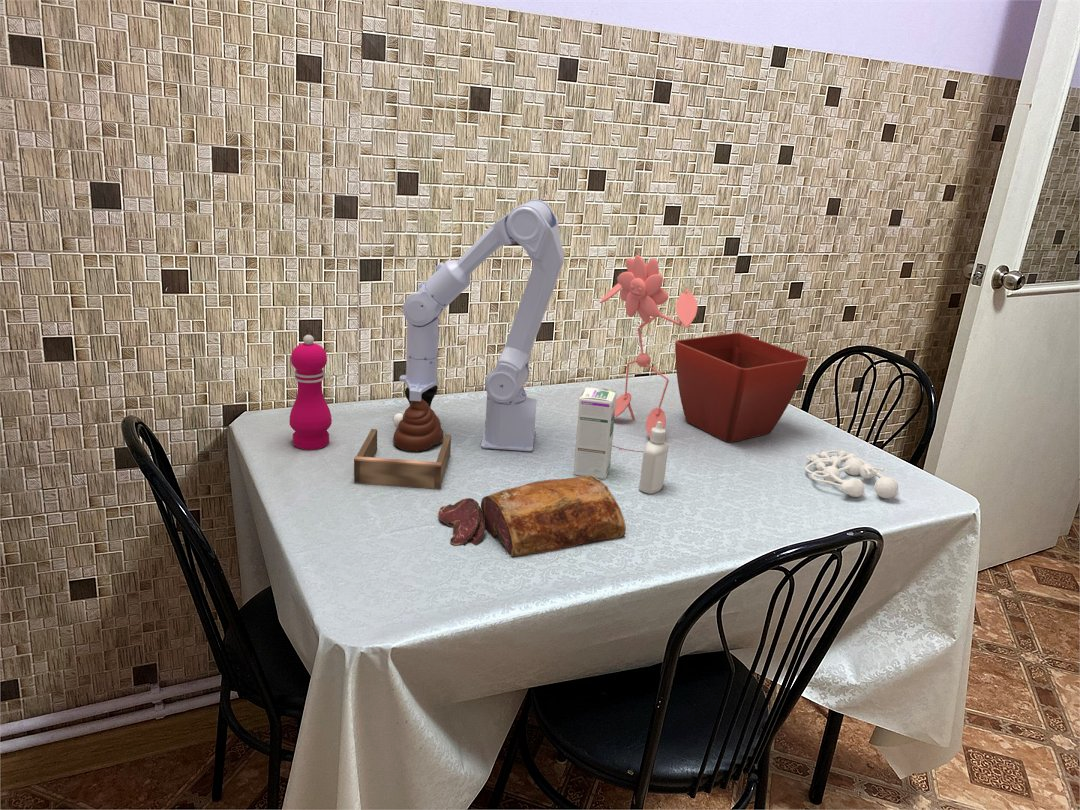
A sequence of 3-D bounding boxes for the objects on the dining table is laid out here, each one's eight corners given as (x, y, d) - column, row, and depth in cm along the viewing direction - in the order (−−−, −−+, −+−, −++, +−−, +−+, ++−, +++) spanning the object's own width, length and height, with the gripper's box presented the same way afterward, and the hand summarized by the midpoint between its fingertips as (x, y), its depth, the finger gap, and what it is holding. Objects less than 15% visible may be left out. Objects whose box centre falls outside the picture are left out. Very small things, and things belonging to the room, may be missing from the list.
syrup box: (605, 480, 145) (614, 401, 140) (572, 475, 146) (579, 396, 141) (610, 467, 150) (618, 390, 145) (577, 462, 151) (584, 385, 146)
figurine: (610, 405, 180) (625, 240, 167) (698, 449, 161) (723, 267, 148) (552, 418, 171) (563, 245, 158) (638, 466, 152) (659, 274, 139)
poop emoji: (418, 457, 148) (419, 407, 145) (381, 444, 152) (381, 396, 149) (453, 440, 156) (455, 393, 153) (417, 429, 160) (418, 382, 157)
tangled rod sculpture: (786, 460, 162) (788, 440, 161) (860, 458, 162) (863, 438, 161) (822, 504, 144) (824, 482, 142) (905, 502, 144) (909, 480, 143)
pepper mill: (281, 445, 149) (277, 336, 142) (306, 432, 155) (304, 326, 148) (315, 454, 146) (313, 343, 139) (340, 440, 152) (338, 333, 145)
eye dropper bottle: (672, 490, 143) (681, 424, 139) (645, 495, 140) (653, 429, 136) (656, 479, 146) (665, 415, 142) (630, 484, 144) (638, 419, 139)
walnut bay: (450, 455, 150) (451, 433, 148) (440, 489, 137) (441, 465, 135) (371, 449, 150) (371, 427, 148) (354, 482, 137) (353, 458, 135)
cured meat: (423, 514, 129) (425, 474, 127) (564, 488, 141) (567, 451, 139) (473, 575, 115) (475, 531, 112) (624, 540, 127) (630, 500, 124)
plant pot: (796, 437, 170) (811, 357, 164) (729, 453, 160) (743, 368, 154) (727, 406, 185) (739, 331, 179) (662, 419, 174) (672, 340, 168)
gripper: (407, 342, 161) (406, 408, 166) (392, 365, 148) (392, 437, 152) (444, 345, 161) (442, 411, 166) (433, 368, 148) (431, 440, 152)
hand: (420, 424), depth 159 cm, fingers closed
